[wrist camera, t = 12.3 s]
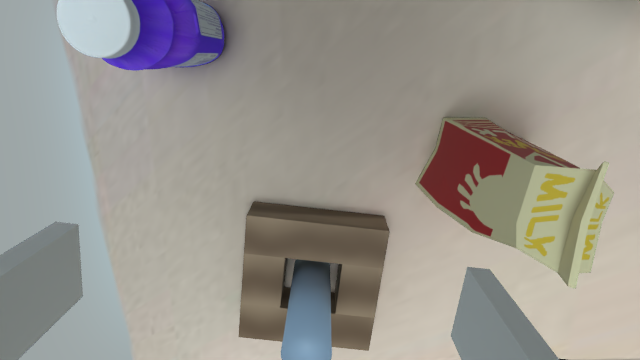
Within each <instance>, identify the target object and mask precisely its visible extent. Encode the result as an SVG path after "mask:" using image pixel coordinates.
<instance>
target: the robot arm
mask: <svg viewBox="0 0 640 360" xmlns="http://www.w3.org/2000/svg"><path fill="white" fill-rule="evenodd" d="M80 261H81V260H80V245H79V228H78V224H70V223H61V222H54V223H53V224H51V225H49V226H48V227H46V228H44V229H43V230H41V231H39V232H38V233H36V234H34V235H33V236H31V237H29V238H28V239H26V240H24V241H23V242H21V243H19V244H18V245H16V246H15V247H13V248H11V249H10V250H8V251H6V252H5V253H3V254H1V255H0V360H18V359H19V358H20V357H21V356H22V355H23V354H24V353H25V352H26V351H27V350H28V349H29V348H30V347H32V346H33V345H34V344H35V343H36V342H37V341H38V340H39V339H40V338H41V337H42V336H43V334H45V333H46V332H47V331H48V330H49V329H50V328H51V327H52V326H53V325H54V324H55V323H56V322H57V321H58V320H59V319H60V318H61V317H62V316H63V315H64V314H65V313H66V312H67V311H68V310H69V309H70V308H71V307H72V306H73V305H75V304H76V303H77V302H78V300H80V299H81V298H82V296H83V294H82V278H81V262H80ZM451 337H452V339H453V342H454V344H455V346H456V348H457V351H458V353H459V355H460V357H461V360H566V359H558V357H557V356H556V355H555V354H554V352H553V351H552V350H551V348H550V347H549V346H548V345H547V343H546V342H545V341H544V339H543V338H542V337H541V335H540V334H539V333H538V332H537V330H536V329H535V328H534V326H533V325H532V324H531V322H530V321H529V320H528V319H527V317H526V316H525V315H524V313H523V312H522V311H521V309H520V308H519V307H518V306H517V304H516V303H515V302H514V300H513V299H512V298H511V296H510V295H509V294H508V293H507V291H506V290H505V289H504V287H503V286H502V285H501V283H500V282H499V281H498V280H497V278H496V277H495V276H494V274H493V273H492V272H491V270H490V269H481V268H472V267H467V271H466V275H465V279H464V283H463V287H462V291H461V296H460V300H459V304H458V308H457V312H456V316H455V321H454V325H453V329H452V333H451Z"/></svg>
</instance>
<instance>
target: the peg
mask: <svg viewBox="0 0 640 360" xmlns="http://www.w3.org/2000/svg"><path fill="white" fill-rule="evenodd" d="M331 356H332V345H331V286H330V263H327V262H318V261H309V260H300V259H296V261H295V265H294V271H293V278H292V284H291V291H290V297H289V304H288V310H287V317H286V323H285V329H284V336H283V342H282V349H281V358H282V360H331Z"/></svg>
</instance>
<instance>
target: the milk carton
mask: <svg viewBox="0 0 640 360" xmlns="http://www.w3.org/2000/svg"><path fill="white" fill-rule="evenodd" d="M608 165H609V163H608V162H605V161H604V162H603V163H602V164H601V165H600V167H599V168H598V169H597V170H590V169H580V168H579V167H577V166H575V165H573V164H571V163H569V162H567V161H565V160H563V159H562V158H560V157H558V156H556V155H554V154H552V153H550V152H548V151H546V150H544V149H542V148H540V147H538V146H535V145H533V144H531V143H529V142H527V141H525V140H523V139H521V138H519V137H517V136H515V135H513V134H511V133H509V132H507V131H505V130H504V129H502V128H501V127H499V126H497V125H496V124H494V123H493V122H491V121H489V120H488V119H486V118H443V121H442V125H441V129H440V133H439V137H438V141H437V145H436V148H435V150H434V152H433V153H432V155H431V157H430V159H429V161H428V162H427V164H426V166H425V168H424V169H423V171H422V173H421V175H420V176H419V178H418V180H417V182H416V185H417V186H418V187H419V188H420V189H421V190H422V191H423V193H424V194H425V195H426V196H427V197H428V198H429V199H430V200H431V201H432V202H433V203H434V204H435V205H436V207H437V208H439V209H440V210H442V211H443V212H445V213H446V214H447V215H449V216H450V217H452V218H453V219H454V220H456V221H457V222H459V223H460V224H461V225H463V226H464V227H466V228H467V229H468V230H470V231H471V232H473V233H476V234H479V235H481V236H484V237H487V238H490V239H492V240H495V241H498V242H500V243H503V244H506V245H509V246H511V247H514V248H517V249H518V250H520V251H522V252H523V253H525V254H527V255H528V256H530V257H532V258H533V259H535V260H537V261H538V262H540V263H542V264H544V265H545V266H547V267H549V268H550V269H552V270H554V271H555V272H557V273H558V274H559V275H560V277H561V278H562V279H563V281H564V282H565V283H566V285H567V286H569V287H572V288H575V289H576V284H577V279H578V274H579V273H590V272H591V268H592V264H593V259H594V255H595V251H596V246H597V242H598V237H599V233H600V229H601V224H602V221H603V219H604V216H605V214H606V211H607V209H608V207H609V204H610V202H611V199H612V197H613V194H614V192H613V191H612V189H611V188H610V187H609V186H608V185H607V184H606V183H605V182H604V177H605V174H606V171H607V168H608Z"/></svg>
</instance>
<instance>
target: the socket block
mask: <svg viewBox="0 0 640 360" xmlns="http://www.w3.org/2000/svg"><path fill="white" fill-rule="evenodd" d="M388 237H389V228H388V226H387V223H386V220H385V217H384V216H379V215H370V214H361V213H352V212H343V211H334V210H325V209H316V208H307V207H298V206H289V205H280V204H271V203H262V202H253V204H252V206H251V208H250V210H249V212H248V214H247V217H246V232H245V248H244V263H243V278H242V293H241V309H240V324H239V337H244V338H253V339H263V340H272V341H282V342H283V336H284V329H285V323H286V317H287V310H288V304H289V297H290V291H291V288H286V287H284V282H285V271H286V261H287V258H290V259H300V260H309V261H318V262H327V263H336V264H339V265H338V273H337V280H336V287H335V293H332V292H331V345H332V347H339V348H348V349H358V350H367V351H369V346H370V340H371V334H372V329H373V323H374V317H375V311H376V306H377V300H378V294H379V289H380V283H381V277H382V271H383V266H384V260H385V254H386V248H387V243H388Z"/></svg>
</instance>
